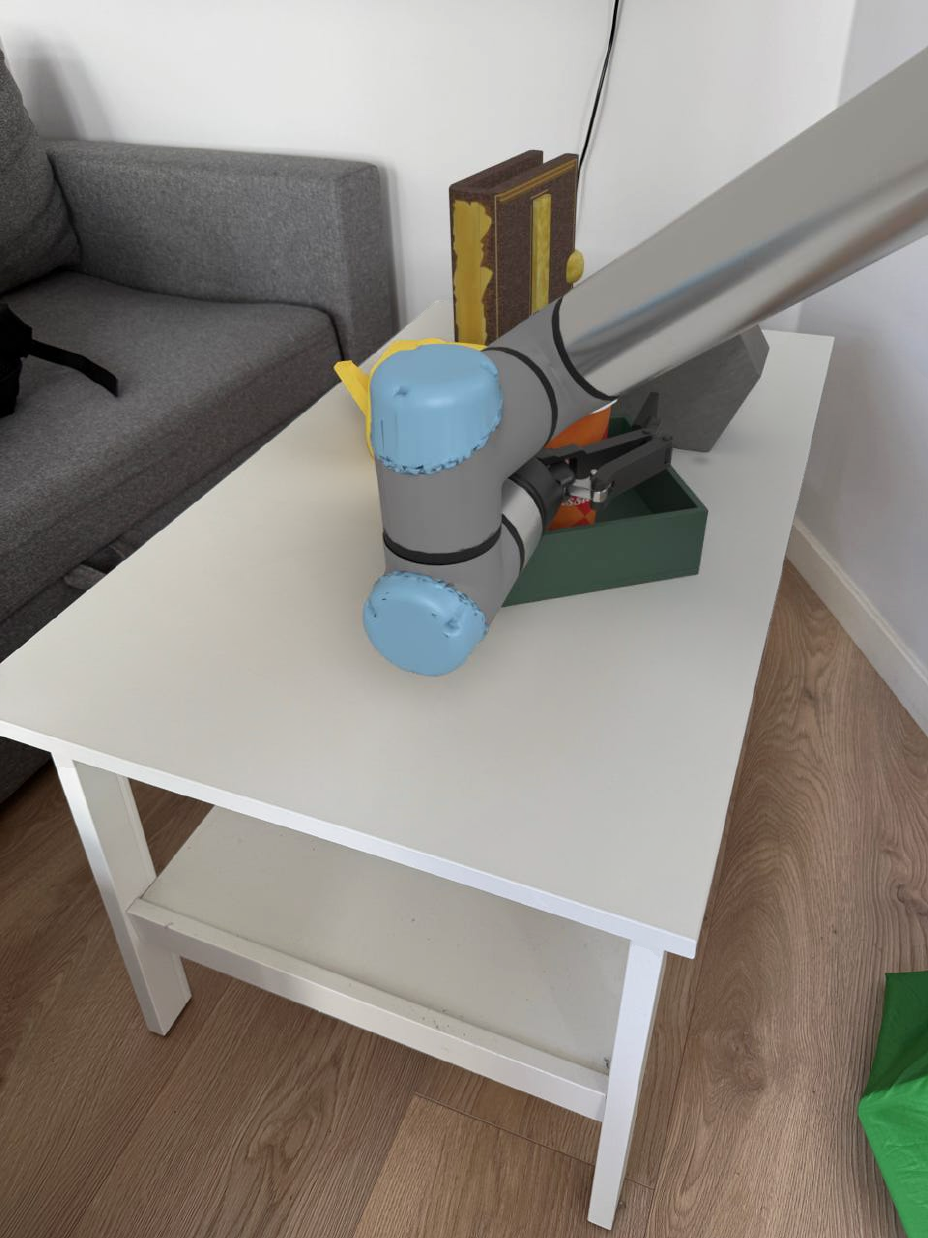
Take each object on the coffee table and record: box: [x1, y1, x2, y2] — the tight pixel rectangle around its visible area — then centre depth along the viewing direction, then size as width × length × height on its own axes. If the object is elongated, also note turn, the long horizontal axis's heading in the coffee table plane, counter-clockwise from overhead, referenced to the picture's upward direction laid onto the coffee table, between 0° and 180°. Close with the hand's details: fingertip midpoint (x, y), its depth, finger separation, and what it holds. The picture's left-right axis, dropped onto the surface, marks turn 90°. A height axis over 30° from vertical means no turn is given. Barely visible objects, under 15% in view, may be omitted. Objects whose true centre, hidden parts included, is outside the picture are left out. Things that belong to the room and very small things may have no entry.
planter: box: [610, 323, 770, 453], centre depth 99 cm, size 17×8×21 cm
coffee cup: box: [544, 400, 617, 531], centre depth 83 cm, size 8×8×15 cm
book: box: [448, 149, 585, 346], centre depth 107 cm, size 22×8×25 cm, turn 148°
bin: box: [500, 413, 709, 608], centre depth 86 cm, size 19×19×7 cm
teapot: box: [333, 337, 487, 460], centre depth 100 cm, size 20×12×12 cm, turn 76°
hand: (579, 396), depth 83 cm, fingers open, 13 cm apart
